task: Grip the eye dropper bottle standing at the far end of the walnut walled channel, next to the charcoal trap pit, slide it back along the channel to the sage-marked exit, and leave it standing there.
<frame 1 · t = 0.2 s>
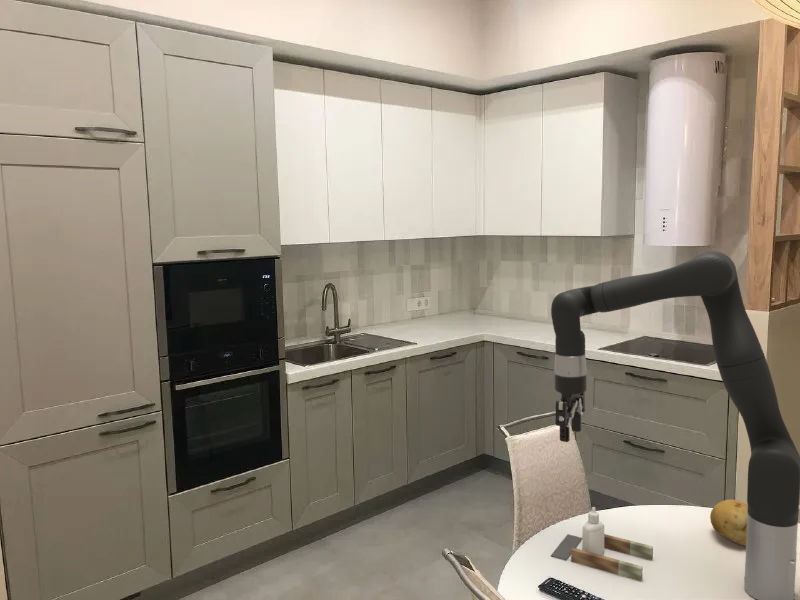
hand: (570, 436, 155), 28 cm above the table, tool pointing down, fingers open, 8 cm apart
walnut channel: (612, 559, 150), on the table
potato: (733, 540, 157), on the table
trap pit: (566, 547, 156), on the table
eye dropper bottle: (593, 555, 152), on the table
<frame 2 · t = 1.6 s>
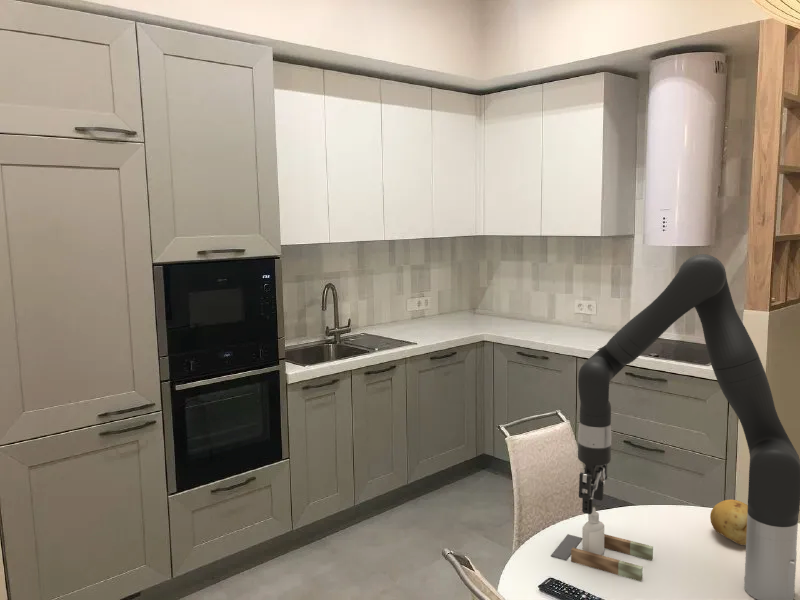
hand: (592, 506, 151), 12 cm above the table, tool pointing down, fingers open, 8 cm apart
nothing on the table moved.
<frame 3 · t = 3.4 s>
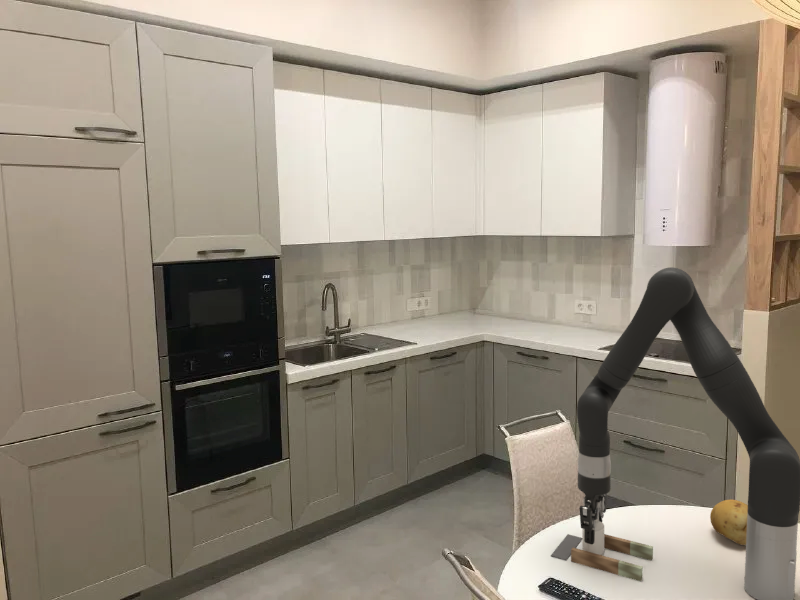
hand: (593, 537, 152), 4 cm above the table, tool pointing down, fingers closed on eye dropper bottle, 5 cm apart
eye dropper bottle: (593, 555, 152), on the table, touching gripper
everything else where it was.
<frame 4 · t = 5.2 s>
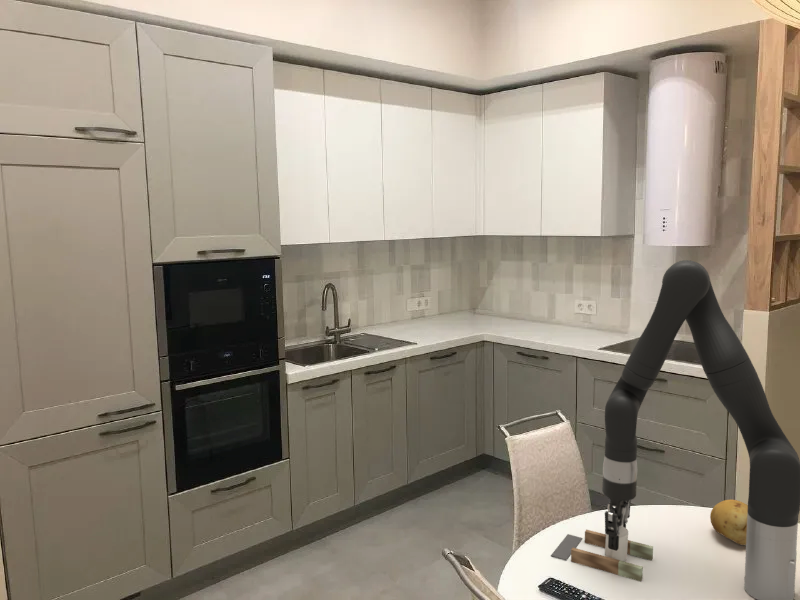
hand: (616, 543, 148), 5 cm above the table, tool pointing down, fingers closed on eye dropper bottle, 5 cm apart
eye dropper bottle: (615, 561, 149), on the table, touching gripper
everything else where it was.
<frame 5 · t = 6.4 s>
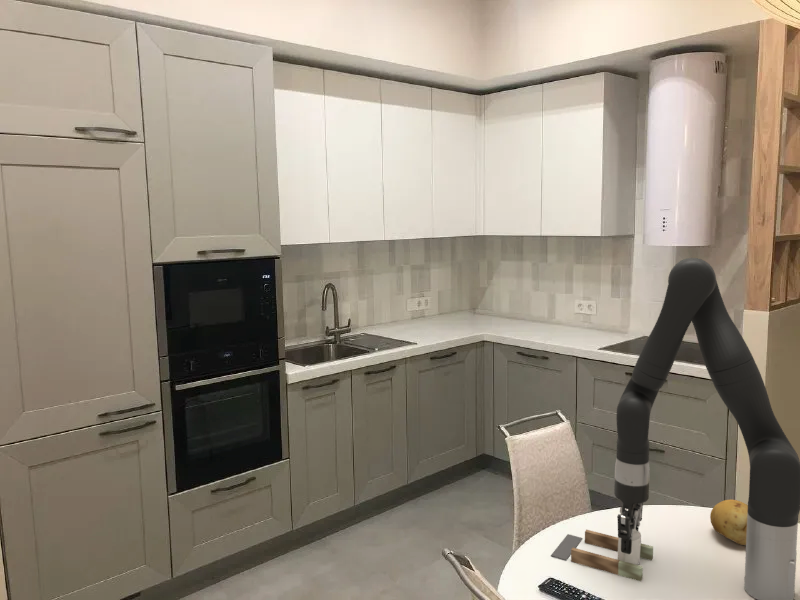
hand: (629, 546, 147), 5 cm above the table, tool pointing down, fingers closed on eye dropper bottle, 5 cm apart
eye dropper bottle: (628, 564, 148), on the table, touching gripper
everything else where it was.
when the fingers open (5 cm above the table, at t = 7.0 s): eye dropper bottle stays where it is, on the table.
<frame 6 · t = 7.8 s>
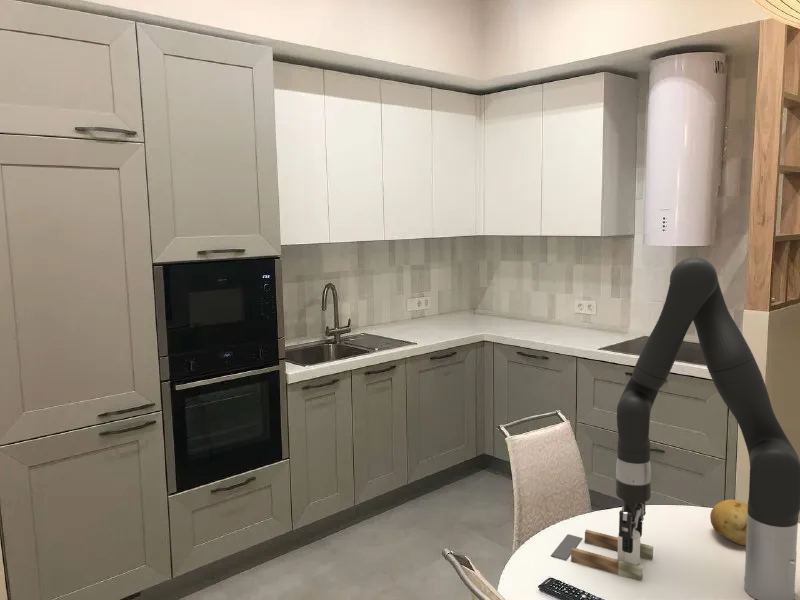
hand: (632, 543, 146), 5 cm above the table, tool pointing down, fingers open, 8 cm apart
eye dropper bottle: (628, 565, 148), on the table
everything else where it was.
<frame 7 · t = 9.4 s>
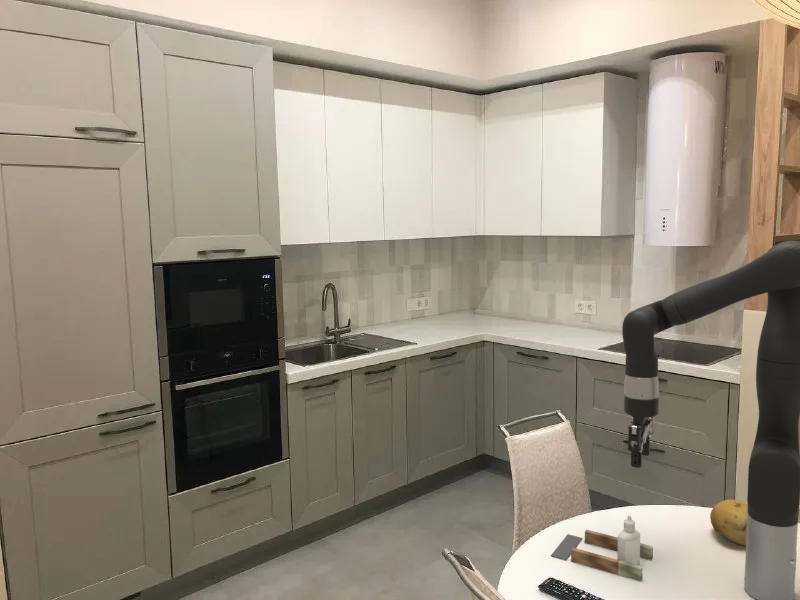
hand: (640, 460, 148), 24 cm above the table, tool pointing down, fingers open, 8 cm apart
nothing on the table moved.
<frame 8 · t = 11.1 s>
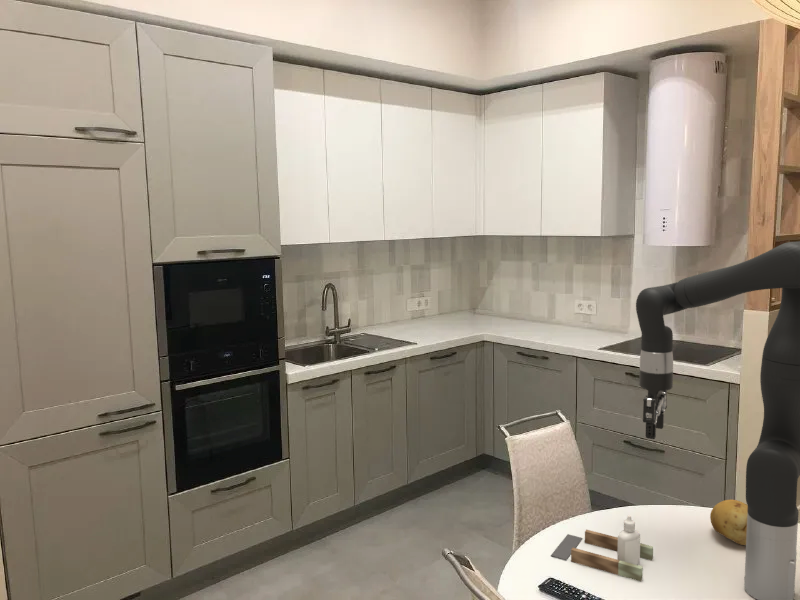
hand: (654, 433, 154), 28 cm above the table, tool pointing down, fingers open, 8 cm apart
nothing on the table moved.
at the end: eye dropper bottle 0.7 cm from the target spot, on the table; eye dropper bottle tilted 0°; the gripper is holding nothing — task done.
